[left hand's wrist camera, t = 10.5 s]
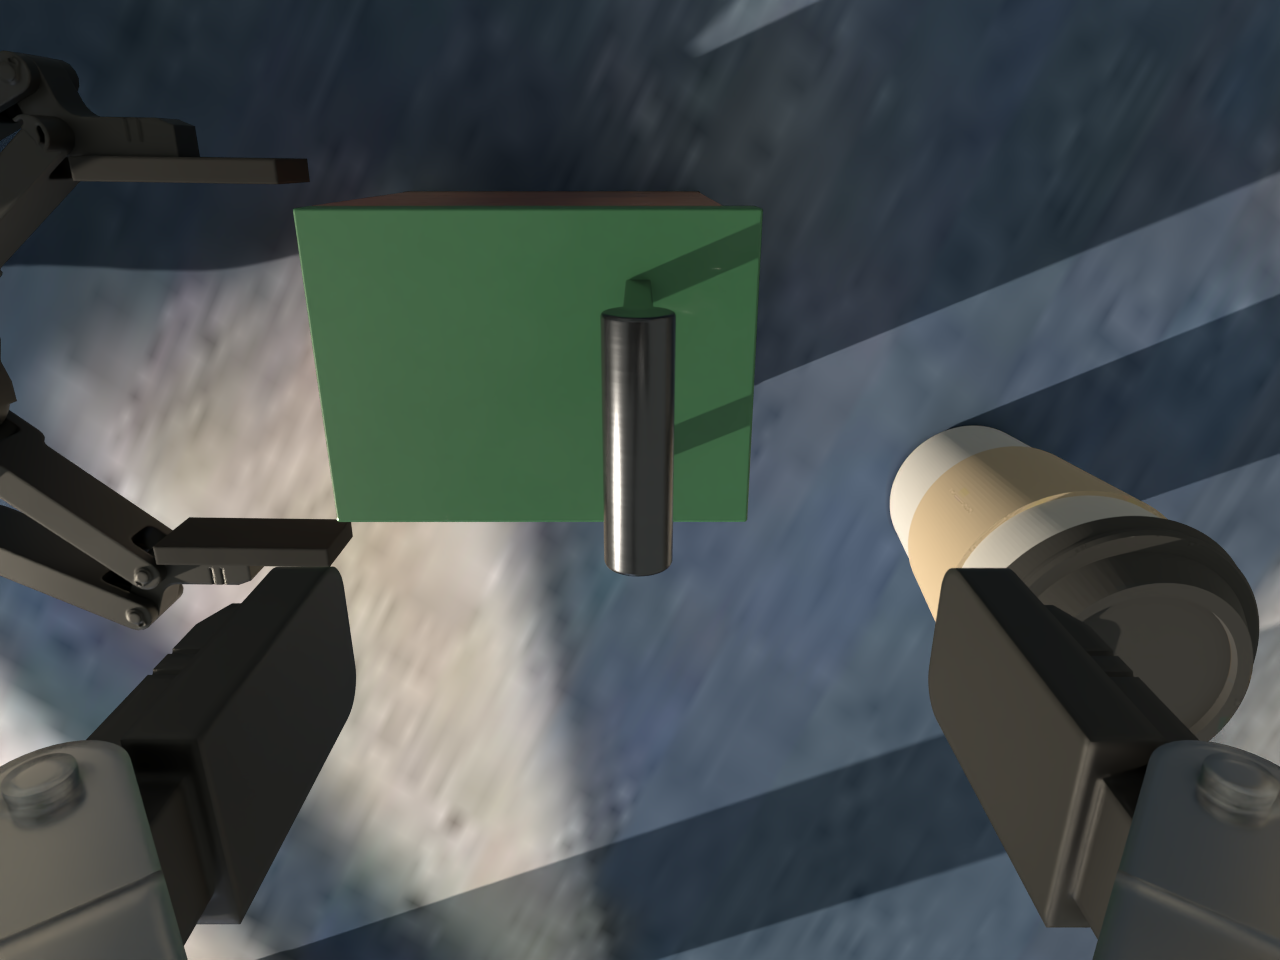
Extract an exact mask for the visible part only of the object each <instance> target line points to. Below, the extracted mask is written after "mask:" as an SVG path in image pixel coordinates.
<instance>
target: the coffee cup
mask: <svg viewBox="0 0 1280 960" xmlns="http://www.w3.org/2000/svg"><path fill="white" fill-rule="evenodd" d="M890 513H891V518H892V522H893V525H894V528H895V530H896V532H897V534H898V536H899V538H900V540H901V542H902V545H903V547H904V549H905V551H906V553H907V555H908V557H909V560H910V564H911V567H912V570H913V573H914V575H915V577H916V580H917V582H918V584H919V586H920V588H921V591H922V593H923V595H924V597H925V599H926V602H927V604H928V606H929V608H930V610H931V613H932V615H933V617H934V619H935V621H936V617H937V610H938V604H939V597H940V590H941V584H942V581H943V577H944V575H945V573H946V572H947V571H948V570H949V569H950V568H1009V569H1011V570H1013V571H1014V572H1015V573H1016V574H1017V576H1018V577H1019V578H1020V579H1021V580H1022V581H1023V582H1024V583H1025V584H1026V585H1027V587H1028V588H1029V589H1030V590H1031V591H1032V592H1033V593H1034V594H1035V595H1036V597H1037V598H1038V599H1039V600H1040V601H1041V602H1042V603H1043V604H1044V605H1054V606H1056V607H1058V608H1059V609H1061V610H1063V611H1064V612H1066V613H1068V614H1070V615H1071V616H1073V617H1075V618H1077V619H1078V620H1080V621H1082V622H1083V623H1085V624H1087V625H1089V626H1090V627H1091V628H1092V629H1093V630H1094V631H1095V632H1096V633H1097V634H1098V635H1099V636H1100V637H1101V638H1102V640H1103V641H1104V642H1105V643H1106V644H1107V645H1108V646H1109V647H1110V648H1111V649H1112V650H1113V655H1114V656H1119V657H1120V658H1121V659H1122V660H1123V661H1124V662H1125V663H1126V665H1127V666H1128V667H1129V668H1130V669H1131V670H1132V671H1133V676H1134V677H1139V678H1140V679H1141V680H1142V681H1143V682H1144V683H1145V684H1146V685H1147V686H1148V687H1149V688H1150V689H1151V691H1152V692H1153V693H1154V694H1155V695H1156V696H1157V697H1158V698H1159V699H1160V700H1161V701H1162V702H1163V703H1164V704H1165V705H1166V706H1167V707H1168V708H1169V709H1170V710H1171V711H1172V712H1173V713H1174V714H1175V715H1176V717H1177V718H1178V719H1179V720H1180V721H1181V722H1182V723H1183V724H1184V725H1185V726H1186V727H1187V728H1188V729H1189V730H1190V731H1191V732H1192V733H1193V734H1194V735H1195V736H1196V737H1197V738H1198V739H1199V740H1200V741H1207V742H1208V741H1209V740H1211V739H1212V738H1213V737H1214V736H1215V735H1216V734H1217V733H1218V732H1219V731H1220V730H1221V729H1222V728H1223V727H1224V726H1225V725H1226V724H1227V723H1228V721H1229V720H1230V719H1231V717H1232V716H1233V715H1234V713H1235V712H1236V710H1237V709H1238V707H1239V705H1240V704H1241V702H1242V700H1243V698H1244V696H1245V694H1246V691H1247V689H1248V686H1249V683H1250V679H1251V674H1252V669H1253V663H1254V659H1255V656H1256V651H1257V646H1258V639H1259V615H1258V609H1257V604H1256V600H1255V597H1254V594H1253V592H1252V589H1251V587H1250V585H1249V583H1248V581H1247V580H1246V578H1245V576H1244V575H1243V573H1242V572H1241V571H1240V569H1239V568H1238V567H1237V566H1236V564H1235V562H1234V561H1233V560H1232V558H1231V557H1230V556H1229V555H1228V553H1227V552H1226V551H1225V550H1224V549H1223V548H1222V547H1221V546H1220V545H1219V544H1217V543H1216V542H1215V541H1214V540H1212V539H1211V538H1210V537H1208V536H1207V535H1205V534H1203V533H1202V532H1200V531H1198V530H1196V529H1194V528H1192V527H1189V526H1187V525H1185V524H1182V523H1179V522H1176V521H1172V520H1168V519H1167V518H1166V517H1164V516H1163V515H1162V514H1161V513H1160V512H1158V511H1157V510H1156V509H1154V508H1152V507H1151V506H1149V505H1148V504H1146V503H1144V502H1142V501H1140V500H1138V499H1136V498H1134V497H1132V496H1131V495H1129V494H1127V493H1125V492H1123V491H1121V490H1119V489H1117V488H1115V487H1114V486H1112V485H1110V484H1108V483H1106V482H1104V481H1102V480H1100V479H1098V478H1097V477H1095V476H1093V475H1091V474H1089V473H1087V472H1085V471H1083V470H1081V469H1080V468H1078V467H1076V466H1074V465H1072V464H1070V463H1068V462H1066V461H1065V460H1063V459H1061V458H1059V457H1057V456H1055V455H1053V454H1051V453H1049V452H1046V451H1043V450H1039V449H1036V448H1032V447H1030V446H1028V445H1026V444H1024V443H1023V442H1021V441H1019V440H1017V439H1015V438H1014V437H1012V436H1010V435H1008V434H1006V433H1004V432H1002V431H1000V430H997V429H994V428H990V427H985V426H962V427H957V428H953V429H949V430H946V431H943V432H941V433H939V434H937V435H935V436H933V437H931V438H929V439H928V440H926V441H925V442H924V443H922V444H921V445H920V446H918V447H917V448H916V449H915V450H914V451H913V452H912V453H911V454H910V455H909V456H908V458H907V459H906V460H905V462H904V463H903V464H902V466H901V468H900V469H899V471H898V473H897V475H896V478H895V480H894V483H893V486H892V490H891V496H890Z"/></svg>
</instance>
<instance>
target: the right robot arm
mask: <svg viewBox="0 0 1280 960" xmlns="http://www.w3.org/2000/svg"><path fill="white" fill-rule="evenodd" d="M78 88H79V78H78V76H77V74H76V72H75V70H74V69H73V68H72V67H71V66H70V65H69V64H68V63H66V62H64V61H62V60H57V59H51V58H47V57H41V56H35V55H29V54H23V53H15V52H9V51H0V140H2V139H4V138H5V137H7V136H9V135H10V134H12V133H14V132H15V131H17V130H19V129H20V128H22V129H21V130H20V131H19V132H18V133H17V134H16V136H15V137H14V138H13V139H12V140H11V141H10V142H9V144H8V145H7V146H6V147H5V148H4V149H3V150H2V152H1V153H0V269H1V267H2V266H3V265H4V264H5V263H6V262H7V260H8V259H9V258H10V257H11V256H12V255H13V254H14V253H15V252H16V251H17V250H18V248H19V247H20V246H21V245H22V244H23V243H24V242H25V241H26V240H27V239H28V238H29V236H30V235H31V234H32V233H33V232H34V231H35V230H36V229H37V228H38V227H39V226H40V224H41V223H42V222H43V221H44V220H45V219H46V218H47V217H48V216H49V215H50V214H51V212H52V211H53V210H54V209H55V208H56V207H57V206H58V205H59V204H60V203H61V202H62V200H63V199H64V198H65V197H66V196H67V195H68V194H69V193H70V192H71V191H72V190H73V188H74V187H75V186H76V185H77V184H78V183H79V182H80V181H112V182H176V183H239V184H287V183H301V182H310V180H309V171H308V163H307V159H291V158H228V157H200V155H199V149H198V143H197V137H196V131H195V126H193V125H190V124H188V123H185V122H183V121H181V120H177V119H165V118H141V117H139V118H138V117H100V116H97V115H96V114H94V113H93V112H91V111H90V110H89V109H88V108H87V107H86V105H85V104H84V102H83V101H82V99H81V97H80V95H79V93H78V92H77V91H78ZM2 273H3V272H2V271H1V270H0V277H1V276H2ZM16 401H17V400H16V396H15V392H14V388H13V385H12V381H11V379H10V377H9V376H8V374H7V372H6V370H5V368H4V366H3V364H2V362H1V339H0V498H1V499H2V500H4V501H6V502H7V503H9V504H10V505H12V506H13V507H15V508H16V509H18V510H19V511H21V512H19V511H17V510H14V509H11V508H9V507H6V506H2V505H0V576H2V577H5V578H7V579H10V580H12V581H15V582H17V583H20V584H22V585H25V586H27V587H30V588H32V589H35V590H37V591H40V592H42V593H45V594H47V595H50V596H52V597H55V598H57V599H59V600H62V601H64V602H67V603H69V604H72V605H74V606H77V607H79V608H82V609H84V610H87V611H89V612H92V613H94V614H97V615H99V616H102V617H104V618H107V619H109V620H112V621H114V622H117V623H119V624H121V625H124V626H126V627H129V628H131V629H135V630H144V629H146V628H148V627H149V626H150V625H151V624H152V623H153V622H154V621H155V620H156V619H158V618H159V617H160V616H161V615H162V614H163V613H164V612H165V611H166V610H167V609H168V608H169V607H170V606H171V605H172V604H173V603H174V602H175V601H176V600H177V599H178V598H180V596H181V595H182V593H183V586H182V584H217V585H223V584H225V585H240V584H243V583H245V582H248V581H251V580H252V579H253V578H254V577H255V576H256V575H257V573H258V572H259V571H260V570H261V569H262V568H263V567H264V566H298V567H330V566H331V564H332V563H333V562H334V560H335V559H336V558H337V557H338V555H339V554H340V553H341V551H342V550H343V549H344V547H345V546H346V545H347V543H348V542H349V541H350V539H351V538H352V537H353V535H352V527H351V522H338V520H337V519H264V518H190V517H189V518H188V519H187V520H186V521H184V522H183V523H182V524H181V525H179V526H178V527H177V528H176V529H174V530H171V529H170V528H168V527H167V526H165V525H164V524H162V523H161V522H159V521H158V520H157V519H155V518H154V517H152V516H151V515H149V514H148V513H146V512H145V511H143V510H142V509H140V508H139V507H137V506H136V505H134V504H133V503H131V502H130V501H128V500H127V499H125V498H124V497H122V496H121V495H120V494H118V493H117V492H115V491H114V490H112V489H111V488H109V487H108V486H106V485H105V484H103V483H102V482H100V481H99V480H97V479H96V478H94V477H93V476H91V475H90V474H88V473H87V472H85V471H84V470H82V469H81V468H80V467H78V466H77V465H75V464H74V463H72V462H71V461H69V460H68V459H66V458H65V457H63V456H62V455H60V454H59V453H57V452H56V451H54V450H53V449H51V448H50V447H48V446H47V445H46V444H45V442H44V439H45V437H44V435H43V433H41V432H40V431H39V430H38V429H36V428H35V427H33V426H32V425H30V424H29V423H28V422H26V421H25V420H23V419H22V418H20V417H19V416H17V415H16V414H14V413H13V412H11V411H10V410H9V406H10V403H13V402H16Z"/></svg>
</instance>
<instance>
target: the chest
mask: <svg viewBox="0 0 1280 960" xmlns="http://www.w3.org/2000/svg"><path fill="white" fill-rule="evenodd" d="M313 206H722V205H720V204H719V203H717V202H715V201H713V200H712V199H710V198H708V197H706V196H704V195H703V194H701V193H700V192H699V191H407V192H403V193H396V194H389V195H382V196H375V197H368V198H361V199H354V200H348V201H341V202H334V203H327V204H320V205H313Z"/></svg>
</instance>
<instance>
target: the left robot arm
mask: <svg viewBox="0 0 1280 960" xmlns="http://www.w3.org/2000/svg"><path fill="white" fill-rule="evenodd" d="M928 684H929V695H930V701H931V705H932V709H933V712H934V715H935V717H936V720H937V721H938V723H939V725H940V727H941V729H942V731H943V733H944V735H945V737H946V739H947V740H948V742H949V744H950V746H951V748H952V750H953V752H954V754H955V756H956V757H957V759H958V761H959V763H960V765H961V767H962V769H963V771H964V773H965V774H966V776H967V778H968V780H969V782H970V784H971V786H972V788H973V790H974V791H975V793H976V795H977V797H978V799H979V801H980V803H981V805H982V807H983V809H984V810H985V812H986V814H987V816H988V818H989V820H990V822H991V824H992V826H993V827H994V829H995V831H996V833H997V835H998V837H999V839H1000V841H1001V843H1002V844H1003V846H1004V848H1005V850H1006V852H1007V854H1008V856H1009V858H1010V860H1011V862H1012V863H1013V865H1014V867H1015V869H1016V871H1017V873H1018V875H1019V877H1020V879H1021V880H1022V882H1023V884H1024V886H1025V888H1026V890H1027V892H1028V894H1029V896H1030V897H1031V899H1032V901H1033V903H1034V905H1035V907H1036V909H1037V911H1038V913H1039V915H1040V916H1041V918H1042V920H1043V922H1044V924H1045V926H1046V927H1091V929H1092V930H1093V932H1094V934H1095V936H1096V937H1097V939H1098V942H1097V945H1096V949H1095V952H1094V956H1093V960H1280V767H1279V766H1278V765H1276V764H1274V763H1272V762H1270V761H1268V760H1266V759H1264V758H1261V757H1259V756H1257V755H1255V754H1252V753H1249V752H1247V751H1244V750H1241V749H1238V748H1234V747H1231V746H1228V745H1223V744H1219V743H1214V742H1207V741H1200V740H1199V739H1198V738H1197V737H1196V736H1195V735H1194V734H1193V733H1192V732H1191V731H1190V730H1189V729H1188V728H1187V727H1186V726H1185V725H1184V724H1183V723H1182V722H1181V721H1180V720H1179V719H1178V718H1177V717H1176V715H1175V714H1174V713H1173V712H1172V711H1171V710H1170V709H1169V708H1168V707H1167V706H1166V705H1165V704H1164V703H1163V702H1162V701H1161V700H1160V699H1159V698H1158V697H1157V696H1156V695H1155V694H1154V693H1153V692H1152V691H1151V689H1150V688H1149V687H1148V686H1147V685H1146V684H1145V683H1144V682H1143V681H1142V680H1141V679H1140V678H1139V677H1134V676H1133V671H1132V670H1131V669H1130V668H1129V667H1128V666H1127V665H1126V663H1125V662H1124V661H1123V660H1122V659H1121V658H1120V657H1119V656H1114V655H1113V650H1112V649H1111V648H1110V647H1109V646H1108V645H1107V644H1106V643H1105V642H1104V641H1103V640H1102V638H1101V637H1100V636H1099V635H1098V634H1097V633H1096V632H1095V631H1094V630H1093V629H1092V628H1091V627H1090V626H1089V625H1087V624H1085V623H1083V622H1082V621H1080V620H1078V619H1077V618H1075V617H1073V616H1071V615H1070V614H1068V613H1066V612H1064V611H1063V610H1061V609H1059V608H1058V607H1056V606H1054V605H1044V604H1043V603H1042V602H1041V601H1040V600H1039V599H1038V598H1037V597H1036V595H1035V594H1034V593H1033V592H1032V591H1031V590H1030V589H1029V588H1028V587H1027V585H1026V584H1025V583H1024V582H1023V581H1022V580H1021V579H1020V578H1019V577H1018V576H1017V574H1016V573H1015V572H1014V571H1013V570H1011V569H1009V568H950V569H949V570H948V571H947V572H946V573H945V575H944V577H943V581H942V584H941V590H940V597H939V604H938V610H937V617H936V624H935V631H934V638H933V644H932V651H931V658H930V665H929V675H928ZM355 687H356V669H355V661H354V654H353V647H352V640H351V633H350V626H349V619H348V612H347V606H346V599H345V592H344V585H343V581H342V577H341V575H340V573H339V571H338V570H337V569H336V568H335V567H275V568H273V569H272V570H271V571H270V572H269V573H268V574H267V575H266V577H265V578H264V579H263V580H262V581H261V582H260V583H259V584H258V585H257V587H256V588H255V589H254V590H253V591H252V592H251V593H250V594H249V596H248V597H247V598H246V599H245V600H244V601H243V602H242V603H232V604H230V605H229V606H227V607H225V608H223V609H222V610H220V611H218V612H217V613H215V614H213V615H211V616H210V617H208V618H206V619H205V620H203V621H201V622H199V623H198V624H196V625H195V626H194V627H193V628H192V629H191V630H190V631H189V632H188V633H187V634H186V636H185V637H184V638H183V639H182V640H181V641H180V642H179V643H178V644H177V645H176V646H175V647H174V648H173V653H172V654H167V655H166V656H165V658H164V659H163V660H162V661H161V662H160V663H159V664H158V665H157V666H156V667H155V668H154V669H153V674H152V675H147V676H146V677H145V679H144V680H143V681H142V682H141V683H140V684H139V685H138V686H137V687H136V688H135V689H134V690H133V691H132V692H131V693H130V694H129V695H128V696H127V697H126V698H125V700H124V701H123V702H122V703H121V704H120V705H119V706H118V707H117V708H116V709H115V710H114V711H113V712H112V713H111V714H110V715H109V716H108V717H107V718H106V719H105V721H104V722H103V723H102V724H101V725H100V726H99V727H98V728H97V729H96V730H95V731H94V732H93V733H92V734H91V735H90V736H89V737H88V738H87V739H86V740H81V741H73V742H66V743H61V744H57V745H52V746H49V747H46V748H42V749H39V750H36V751H33V752H31V753H28V754H25V755H23V756H21V757H19V758H16V759H14V760H12V761H10V762H8V763H6V764H4V765H2V766H1V767H0V960H187V956H186V952H185V949H184V945H185V943H186V941H187V940H188V938H189V936H190V934H191V933H192V931H193V929H194V927H195V926H196V924H241V922H242V920H243V918H244V916H245V914H246V912H247V910H248V908H249V907H250V905H251V903H252V901H253V899H254V897H255V895H256V893H257V891H258V889H259V887H260V885H261V884H262V882H263V880H264V878H265V876H266V874H267V872H268V870H269V868H270V866H271V864H272V862H273V861H274V859H275V857H276V855H277V853H278V851H279V849H280V847H281V845H282V843H283V841H284V840H285V838H286V836H287V834H288V832H289V830H290V828H291V826H292V824H293V822H294V820H295V818H296V817H297V815H298V813H299V811H300V809H301V807H302V805H303V803H304V801H305V799H306V797H307V795H308V794H309V792H310V790H311V788H312V786H313V784H314V782H315V780H316V778H317V776H318V774H319V772H320V771H321V769H322V767H323V765H324V763H325V761H326V759H327V757H328V755H329V753H330V751H331V749H332V748H333V746H334V744H335V742H336V740H337V738H338V736H339V734H340V732H341V730H342V728H343V726H344V725H345V723H346V721H347V719H348V717H349V714H350V712H351V709H352V705H353V701H354V696H355Z"/></svg>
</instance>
